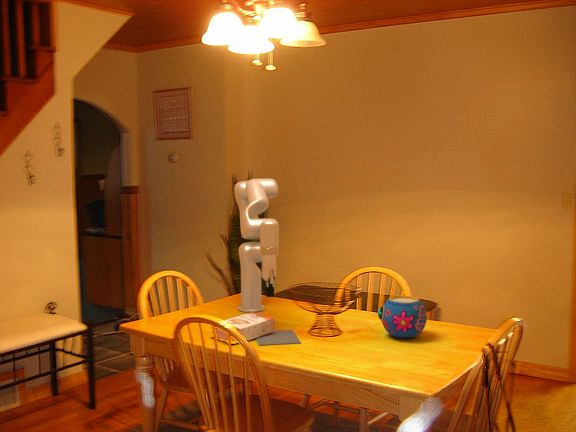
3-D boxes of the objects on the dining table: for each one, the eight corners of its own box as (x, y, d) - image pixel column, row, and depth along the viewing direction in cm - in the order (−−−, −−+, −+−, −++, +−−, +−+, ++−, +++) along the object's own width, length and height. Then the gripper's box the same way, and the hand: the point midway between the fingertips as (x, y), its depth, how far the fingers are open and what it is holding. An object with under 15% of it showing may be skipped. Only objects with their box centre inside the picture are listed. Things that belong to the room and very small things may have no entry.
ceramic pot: (392, 328, 240) (392, 292, 239) (433, 335, 230) (434, 297, 229) (372, 338, 226) (372, 300, 225) (415, 346, 216) (416, 306, 215)
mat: (253, 332, 235) (253, 331, 235) (292, 330, 237) (292, 329, 237) (258, 345, 217) (258, 344, 217) (301, 343, 220) (301, 342, 220)
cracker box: (274, 317, 231) (232, 331, 217) (275, 331, 231) (233, 346, 217) (252, 310, 241) (210, 323, 227) (253, 324, 242) (211, 338, 228)
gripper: (257, 249, 240) (258, 293, 242) (262, 254, 226) (263, 301, 227) (275, 248, 242) (276, 292, 243) (281, 253, 227) (282, 300, 228)
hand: (269, 296), depth 235 cm, fingers closed
